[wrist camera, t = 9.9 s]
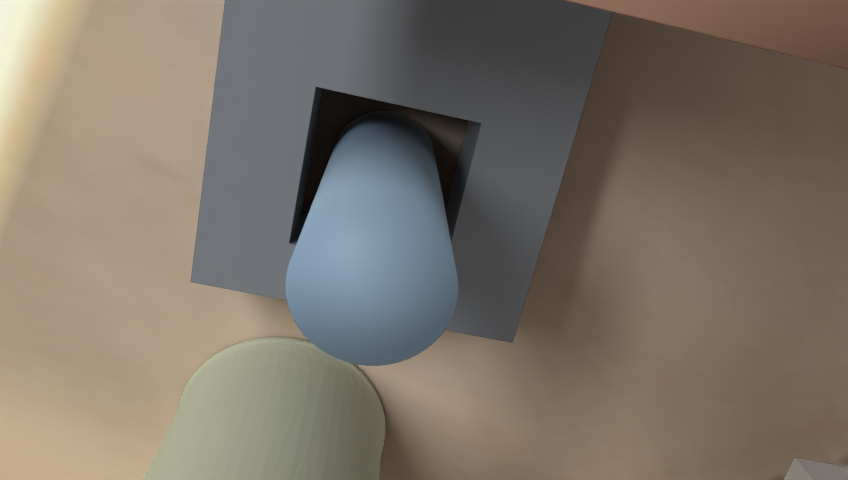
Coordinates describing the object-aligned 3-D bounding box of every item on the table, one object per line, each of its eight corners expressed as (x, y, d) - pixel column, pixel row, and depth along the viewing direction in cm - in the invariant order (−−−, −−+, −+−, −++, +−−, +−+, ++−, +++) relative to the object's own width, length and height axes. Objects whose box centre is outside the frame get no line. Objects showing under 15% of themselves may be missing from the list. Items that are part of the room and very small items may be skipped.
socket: (273, -197, 23) (252, -226, 20) (618, -107, 25) (652, -119, 21) (214, 247, 29) (190, 282, 25) (500, 302, 30) (512, 342, 27)
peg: (342, 100, 27) (300, 192, 16) (445, 123, 27) (476, 228, 16) (324, 199, 28) (273, 349, 17) (422, 219, 29) (436, 378, 17)
